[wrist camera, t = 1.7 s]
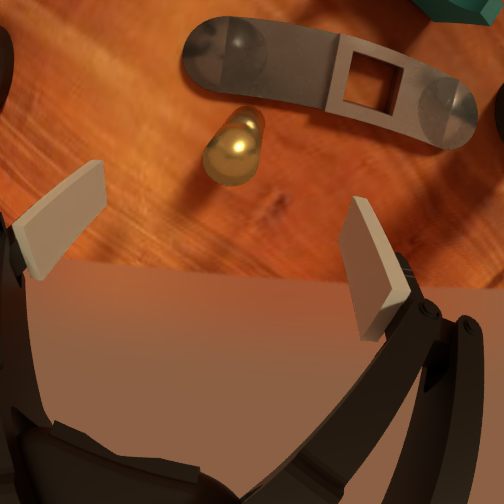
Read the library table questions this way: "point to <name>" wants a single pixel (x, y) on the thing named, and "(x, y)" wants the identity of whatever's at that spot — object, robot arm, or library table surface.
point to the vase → (500, 113)
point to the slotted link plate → (327, 76)
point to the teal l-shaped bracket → (461, 10)
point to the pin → (235, 148)
